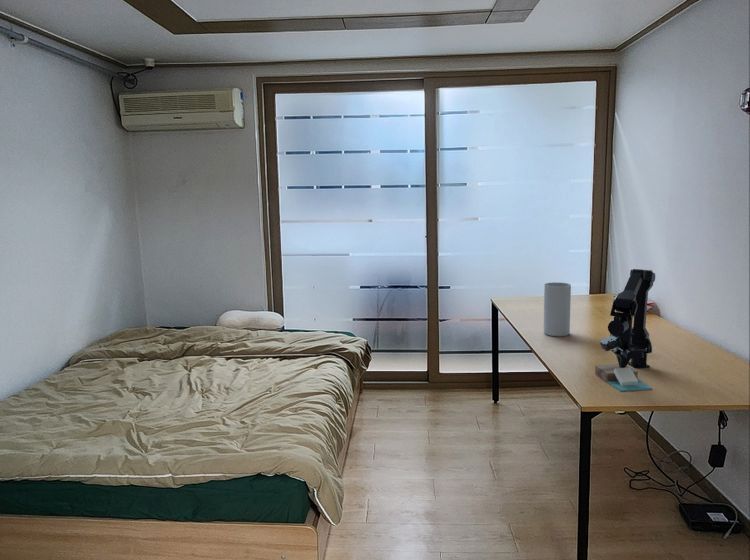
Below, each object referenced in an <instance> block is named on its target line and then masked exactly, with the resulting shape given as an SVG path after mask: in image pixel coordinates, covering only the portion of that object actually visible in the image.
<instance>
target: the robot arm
mask: <svg viewBox="0 0 750 560" xmlns="http://www.w3.org/2000/svg"><path fill="white" fill-rule="evenodd" d="M655 281H656V273H655V272H653V270H652V269H641V268H637V269H636V268H633V269H631V270H630V273H629V277H628V280H627V282H626V284H625V287H624V288H623V290H622V291H621V292H619V293H617V296H616V297H615V298H614V299H613V301H612V305H611V309H610V310H611V311H610V315H609V317H613V319H614V320H613V319H612V320H613V321H611V320H610V322H609V323H608V324H607V331H608V333H609V334H610V333H611V334H612V336H610V335H609V336H608V337H607V336H606V337H605V338H602V339H601V340H599V344H600V347H601V349H602V350H604V351H605V352H609V351H611V352H612V353H613V354H614V355H615V357H616V359H617V363H618V364H619V367H620V368H625V367H626V366H631V367H632V368H633V369H634V368H635V369H638V368H650V367H651V366H650V365H649V364H648V363H647V361H648V355H649V354H652V353H653V345H652V341H651V339H650V333H649V331H648V330H647V328H646V326H647V325H646V324H647V312H648V311H647V310H648V300H649V299H648V298H649V297H648V296H649V292H650V290H651V289H652V288H653V286H654V282H655Z"/></svg>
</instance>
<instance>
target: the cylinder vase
mask: <svg viewBox="0 0 750 560" xmlns="http://www.w3.org/2000/svg"><path fill="white" fill-rule="evenodd" d="M543 288H544V289H543V290H544V291H543V292H544V293H543V333H544V334H545V335H546V336H550V337H558V338H559V337H567V336H569V334H571V333H570V332H571V297H572V295H571V294H572V291H571V290H572V285H571V284H570V283H568V282H567V283H566V282H554V281H553V282H545V283H544V287H543Z"/></svg>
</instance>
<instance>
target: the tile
mask: <svg viewBox="0 0 750 560" xmlns="http://www.w3.org/2000/svg"><path fill="white" fill-rule="evenodd" d="M631 368H632V367H631ZM631 368H615V369H614V374H615V376H616V377H617V379H618V381H619V383H620V385H621V386H626V385H637V383H638V380H639V379H637V378H636V376H635V375H634V373H633V371H632V370H631Z"/></svg>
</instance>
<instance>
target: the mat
mask: <svg viewBox="0 0 750 560" xmlns="http://www.w3.org/2000/svg"><path fill="white" fill-rule="evenodd" d="M637 380H638V383H637V385H626V386H621V385H620V383H619V381H608V382H607V383H608V384H609V385H611V386H612V387H613V388H615V389H616V390H617V391H619V392H632V391H634V392H635V391H647V390H648V391H651V390H653V388H652V387H651V386H649V385H648V384H646V383H644V382H643V381H641V380H640V379H637Z"/></svg>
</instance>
